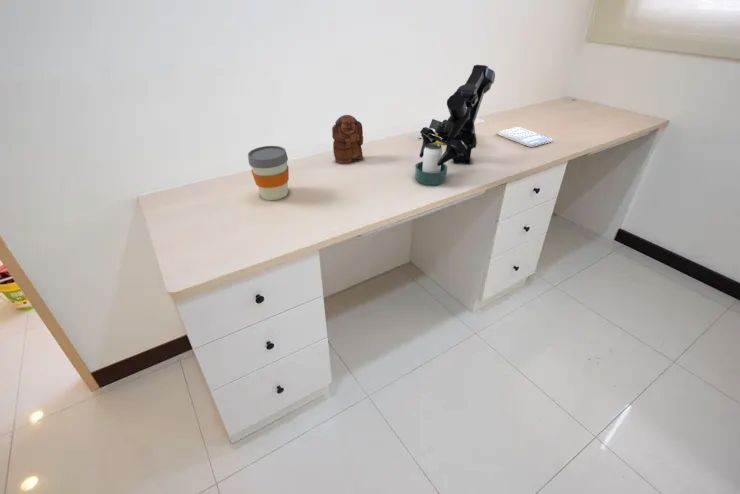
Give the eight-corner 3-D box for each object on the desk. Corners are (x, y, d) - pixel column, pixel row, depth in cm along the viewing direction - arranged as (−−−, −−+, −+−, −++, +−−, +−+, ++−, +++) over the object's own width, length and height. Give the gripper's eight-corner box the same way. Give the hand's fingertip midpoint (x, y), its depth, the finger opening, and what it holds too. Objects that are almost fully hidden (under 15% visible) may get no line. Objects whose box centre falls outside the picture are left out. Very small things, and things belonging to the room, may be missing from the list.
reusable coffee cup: (275, 206, 122) (267, 163, 113) (248, 197, 128) (238, 155, 119) (300, 190, 131) (294, 149, 122) (274, 183, 136) (266, 143, 127)
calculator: (517, 129, 179) (518, 125, 178) (552, 142, 165) (553, 138, 164) (496, 134, 174) (497, 130, 173) (531, 148, 160) (532, 143, 158)
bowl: (445, 173, 140) (447, 161, 137) (445, 187, 131) (447, 174, 128) (415, 172, 142) (416, 159, 139) (413, 185, 133) (414, 172, 130)
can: (439, 182, 133) (442, 150, 126) (420, 181, 134) (423, 148, 127) (440, 174, 138) (443, 143, 131) (422, 173, 139) (424, 142, 132)
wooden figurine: (340, 166, 147) (337, 120, 137) (333, 160, 152) (329, 116, 141) (366, 159, 152) (364, 115, 142) (358, 154, 157) (356, 111, 146)
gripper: (425, 103, 130) (400, 141, 132) (465, 116, 118) (436, 157, 119) (440, 122, 138) (415, 157, 140) (478, 135, 126) (451, 174, 127)
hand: (428, 161), depth 131 cm, fingers open, 9 cm apart
